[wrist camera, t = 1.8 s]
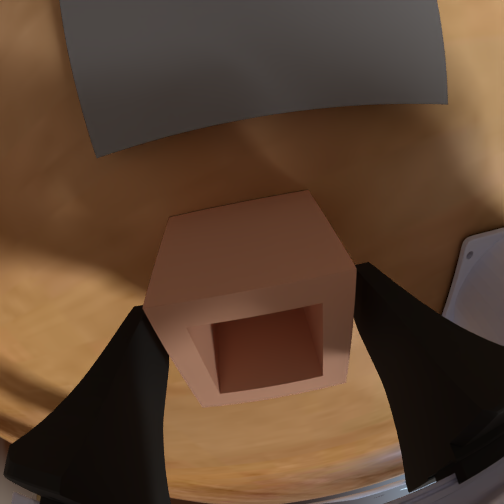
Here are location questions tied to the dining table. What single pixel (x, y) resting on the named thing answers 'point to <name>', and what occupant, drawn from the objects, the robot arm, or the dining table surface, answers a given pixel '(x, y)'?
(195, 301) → the collar
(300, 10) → the post board
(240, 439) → the dining table surface
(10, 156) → the dining table surface
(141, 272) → the dining table surface
